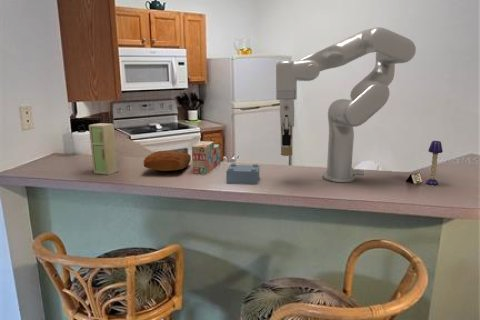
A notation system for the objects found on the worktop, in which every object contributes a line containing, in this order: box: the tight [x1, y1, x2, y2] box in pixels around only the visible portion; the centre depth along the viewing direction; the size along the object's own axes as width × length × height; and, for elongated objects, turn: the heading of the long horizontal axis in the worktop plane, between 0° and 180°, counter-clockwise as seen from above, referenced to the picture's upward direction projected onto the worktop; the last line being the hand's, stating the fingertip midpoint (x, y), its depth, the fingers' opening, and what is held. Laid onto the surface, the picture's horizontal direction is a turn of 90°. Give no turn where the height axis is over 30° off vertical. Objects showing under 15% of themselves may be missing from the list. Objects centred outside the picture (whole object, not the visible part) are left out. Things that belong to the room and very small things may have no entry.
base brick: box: [225, 162, 260, 185], centre depth 139 cm, size 12×10×6 cm
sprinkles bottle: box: [279, 122, 293, 157], centre depth 133 cm, size 5×5×14 cm
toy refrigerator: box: [88, 122, 119, 175], centre depth 150 cm, size 8×7×21 cm
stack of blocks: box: [191, 140, 221, 175], centre depth 158 cm, size 21×6×12 cm, turn 167°
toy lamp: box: [425, 140, 444, 187], centre depth 132 cm, size 5×5×17 cm
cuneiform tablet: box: [143, 150, 192, 172], centre depth 155 cm, size 22×17×8 cm
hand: (286, 143), depth 133 cm, fingers closed on sprinkles bottle, 4 cm apart
